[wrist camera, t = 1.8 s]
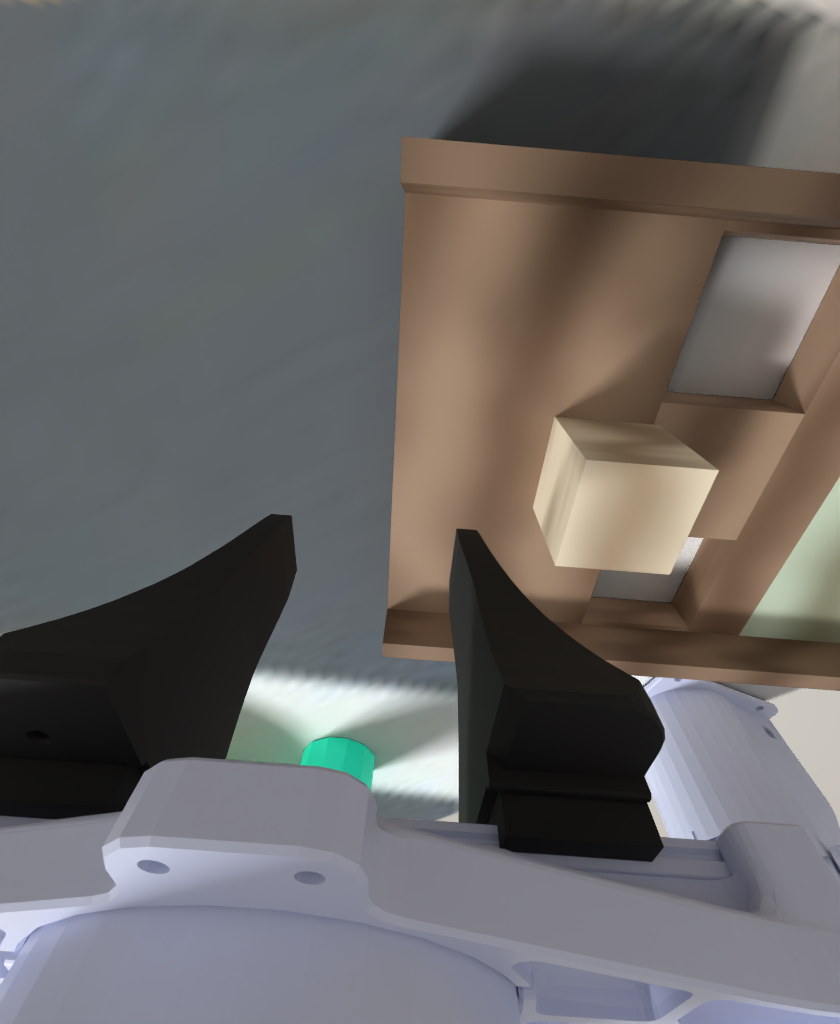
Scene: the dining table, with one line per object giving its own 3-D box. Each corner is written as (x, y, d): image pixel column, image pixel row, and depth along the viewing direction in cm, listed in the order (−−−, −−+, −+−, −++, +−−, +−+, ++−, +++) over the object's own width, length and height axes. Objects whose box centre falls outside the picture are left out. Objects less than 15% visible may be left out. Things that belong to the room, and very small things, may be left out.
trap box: (1162, 229, 16) (1430, 220, 12) (839, 632, 27) (916, 704, 22) (410, 165, 16) (400, 131, 11) (390, 598, 27) (381, 664, 22)
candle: (384, 746, 35) (362, 954, 24) (364, 783, 38) (337, 982, 27) (311, 730, 34) (256, 937, 24) (297, 768, 37) (243, 968, 27)
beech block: (659, 424, 18) (719, 470, 14) (626, 514, 21) (669, 574, 17) (554, 416, 18) (586, 459, 14) (532, 507, 21) (555, 565, 17)
